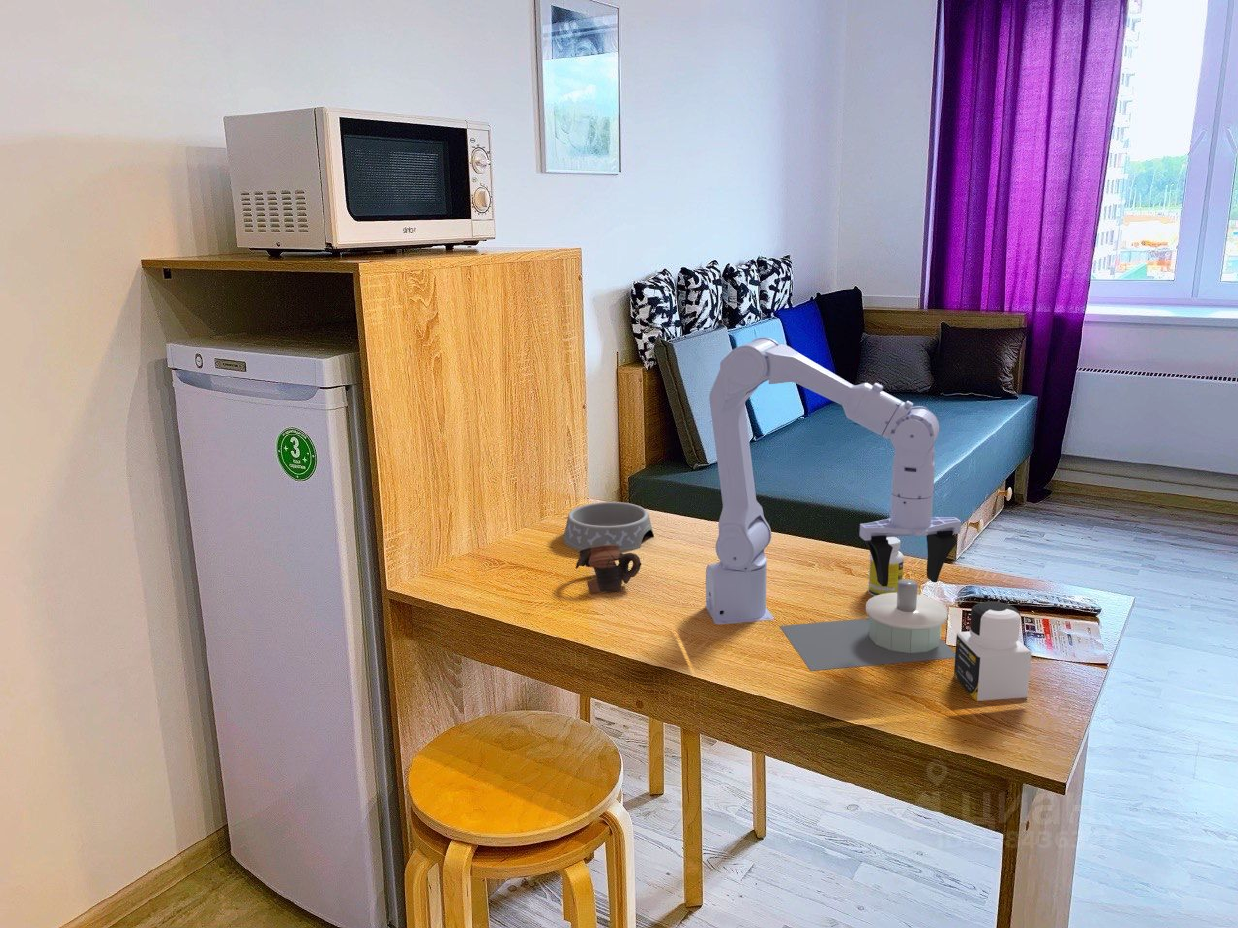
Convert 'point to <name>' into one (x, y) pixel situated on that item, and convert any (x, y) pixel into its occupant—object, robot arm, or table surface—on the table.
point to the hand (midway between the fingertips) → (907, 581)
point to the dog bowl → (607, 526)
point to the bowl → (904, 638)
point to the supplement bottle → (894, 571)
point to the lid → (906, 608)
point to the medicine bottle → (993, 654)
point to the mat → (849, 646)
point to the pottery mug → (608, 567)
